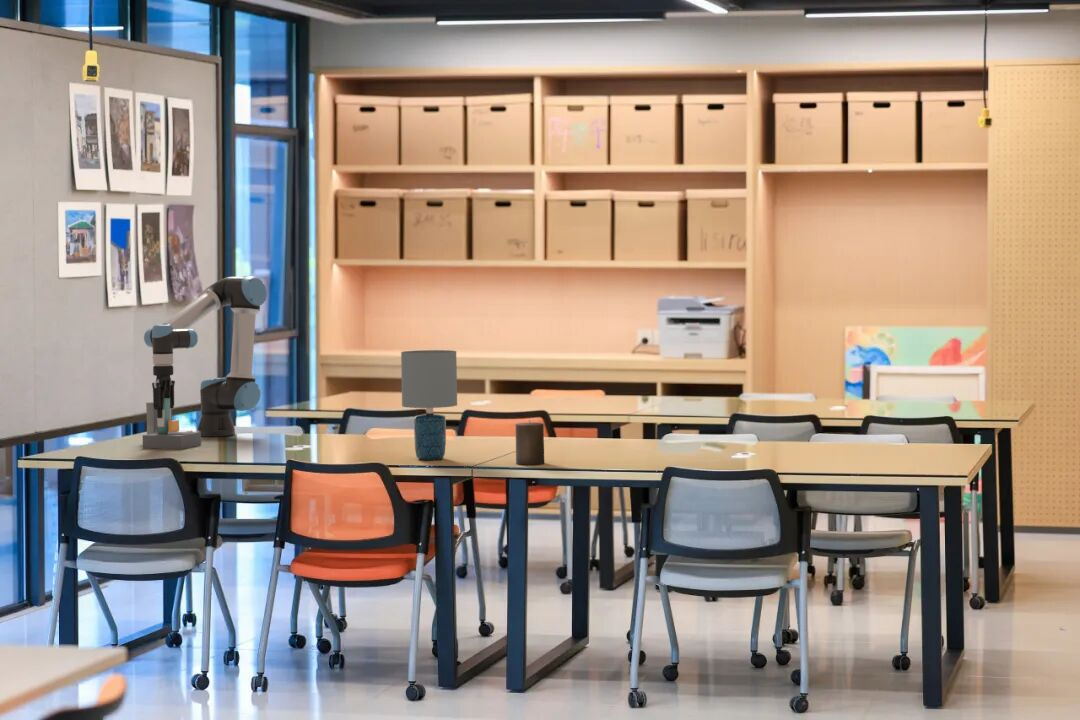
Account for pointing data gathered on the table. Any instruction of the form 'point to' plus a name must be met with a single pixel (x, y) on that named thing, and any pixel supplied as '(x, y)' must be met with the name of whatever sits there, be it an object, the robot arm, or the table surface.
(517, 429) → the pillar candle
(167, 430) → the plug peg
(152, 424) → the skincare box
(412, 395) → the lamp
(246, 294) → the robot arm
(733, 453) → the table surface
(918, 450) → the table surface
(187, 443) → the socket
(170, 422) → the shutter
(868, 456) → the table surface
